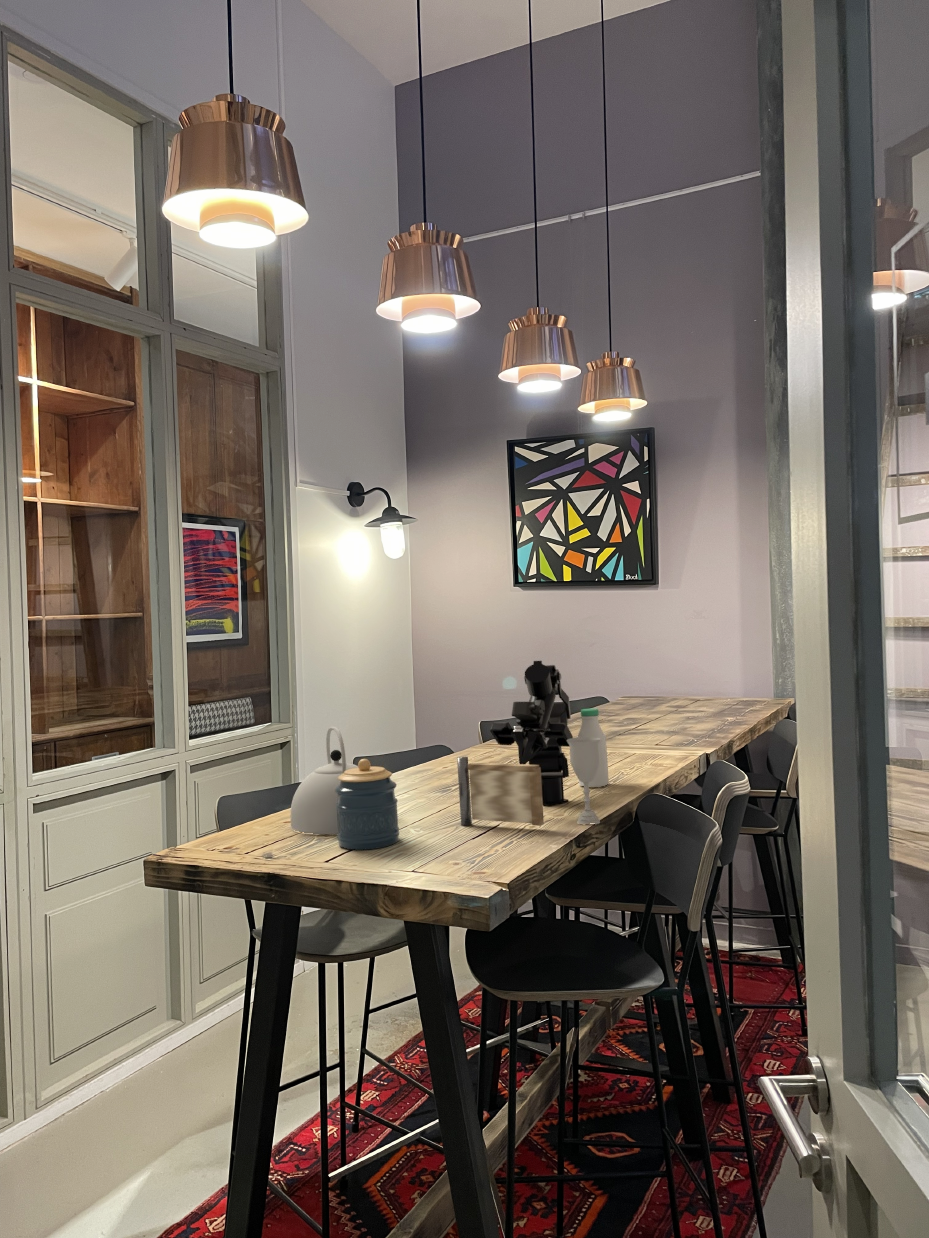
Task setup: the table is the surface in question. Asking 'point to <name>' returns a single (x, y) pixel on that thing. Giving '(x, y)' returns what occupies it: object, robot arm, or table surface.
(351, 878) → the table surface
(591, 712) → the milk bottle
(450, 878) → the table surface
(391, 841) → the canister
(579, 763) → the chalice
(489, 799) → the gate
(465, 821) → the hinge post
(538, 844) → the table surface
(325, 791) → the kettle
